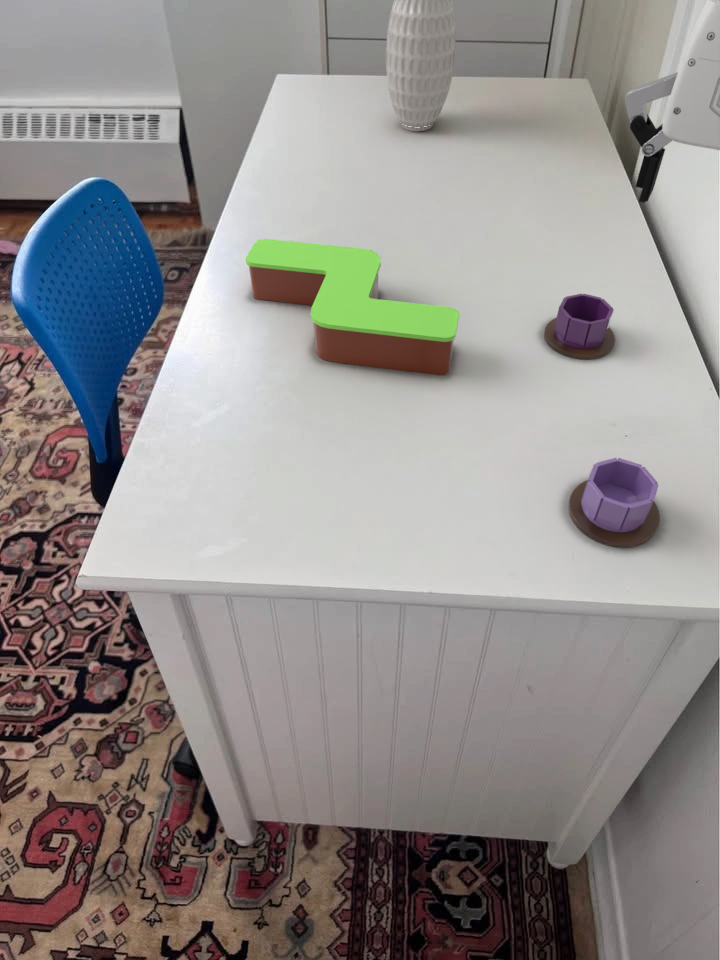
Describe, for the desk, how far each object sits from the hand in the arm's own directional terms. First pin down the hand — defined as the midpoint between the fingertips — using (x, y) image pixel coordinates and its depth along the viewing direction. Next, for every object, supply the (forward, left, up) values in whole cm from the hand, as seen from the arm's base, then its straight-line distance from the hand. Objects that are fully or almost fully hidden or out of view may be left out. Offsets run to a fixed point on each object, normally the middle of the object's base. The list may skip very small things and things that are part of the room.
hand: (700, 207), depth 64 cm
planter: (+38, -4, -26) cm, 46 cm away
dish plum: (+9, -14, -26) cm, 31 cm away
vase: (+56, -69, -26) cm, 93 cm away
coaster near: (-2, +14, -26) cm, 30 cm away
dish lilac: (-2, +14, -26) cm, 29 cm away
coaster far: (+9, -14, -26) cm, 31 cm away
